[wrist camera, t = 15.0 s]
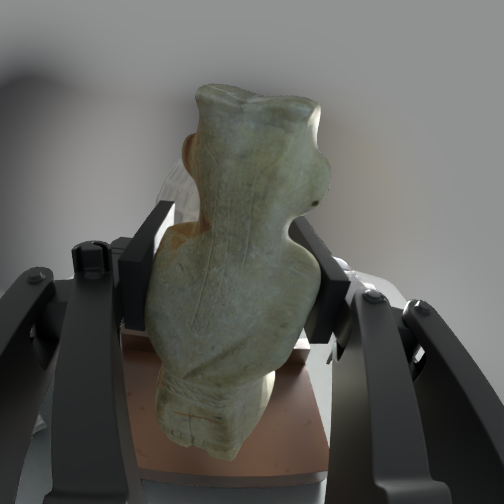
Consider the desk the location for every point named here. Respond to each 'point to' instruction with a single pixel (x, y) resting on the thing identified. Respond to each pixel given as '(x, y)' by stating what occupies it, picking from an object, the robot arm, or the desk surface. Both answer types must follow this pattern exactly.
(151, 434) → the brown lipped tray
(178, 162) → the vase
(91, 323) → the robot arm
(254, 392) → the sculpture
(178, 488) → the desk surface
